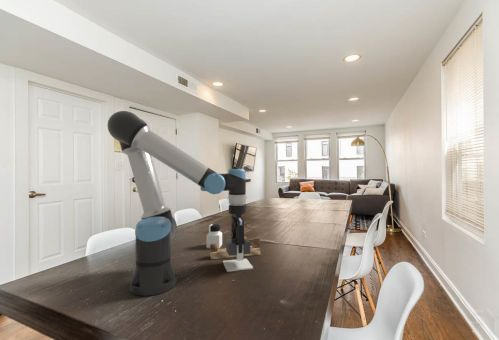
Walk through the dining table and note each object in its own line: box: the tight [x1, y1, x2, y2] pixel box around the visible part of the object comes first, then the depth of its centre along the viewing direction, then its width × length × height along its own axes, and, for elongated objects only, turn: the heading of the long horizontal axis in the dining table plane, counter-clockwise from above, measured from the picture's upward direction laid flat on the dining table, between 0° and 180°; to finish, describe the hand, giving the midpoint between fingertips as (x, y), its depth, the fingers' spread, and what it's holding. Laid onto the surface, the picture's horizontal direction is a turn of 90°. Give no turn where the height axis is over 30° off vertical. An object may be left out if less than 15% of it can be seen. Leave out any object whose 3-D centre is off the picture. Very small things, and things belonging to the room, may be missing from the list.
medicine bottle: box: [206, 223, 223, 249], centre depth 132 cm, size 7×7×12 cm
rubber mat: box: [222, 258, 254, 273], centre depth 105 cm, size 11×11×1 cm
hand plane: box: [209, 237, 261, 260], centre depth 118 cm, size 24×5×8 cm, turn 106°
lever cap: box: [225, 235, 251, 256], centre depth 105 cm, size 9×8×6 cm
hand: (237, 256), depth 105 cm, fingers closed on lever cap, 8 cm apart
